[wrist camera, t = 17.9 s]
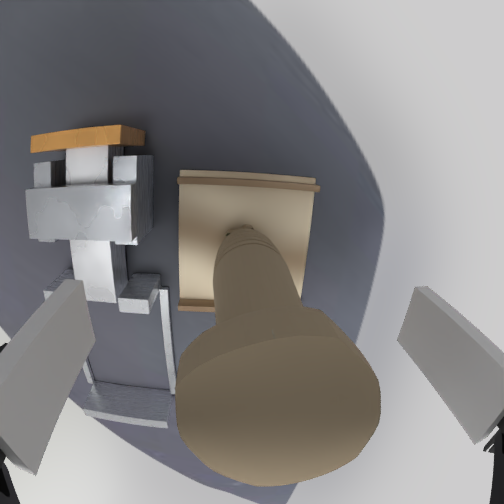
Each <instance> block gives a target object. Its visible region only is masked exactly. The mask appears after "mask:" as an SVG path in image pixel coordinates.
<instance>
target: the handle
mask: <svg viewBox="0 0 504 504" xmlns="http://www.w3.org/2000/svg"><path fill="white" fill-rule="evenodd" d="M213 293H214V305H215V317H216V325H215V326H213V327H212V328H210V329H208V330H206V331H204V332H203V333H202V334H201V335H199V336H198V337H197V338H196V339H195V340H194V341H193V342H191V344H190V345H189V346H188V347H187V348H186V350H185V351H184V352H183V353H182V355H181V358H180V361H179V367H178V372H177V378H176V385H175V401H176V418H177V427H178V430H179V433H180V436H181V438H182V440H183V441H184V443H185V444H186V445H187V447H188V448H189V449H190V450H191V451H192V452H193V453H194V454H195V455H196V456H197V457H198V458H199V459H200V460H201V461H202V462H203V463H204V464H205V465H206V466H208V467H209V468H210V469H212V470H213V471H215V472H217V473H219V474H221V475H223V476H225V477H228V478H231V479H234V480H237V481H240V482H243V483H247V484H250V485H254V486H281V485H287V484H293V483H298V482H302V481H306V480H310V479H313V478H316V477H318V476H322V475H324V474H327V473H329V472H332V471H334V470H336V469H338V468H340V467H342V466H343V465H345V464H347V463H349V462H350V461H352V460H353V459H355V458H356V457H357V456H358V455H359V453H360V452H361V451H362V450H363V448H364V447H365V445H366V444H367V443H368V441H369V440H370V438H371V437H372V435H373V434H374V432H375V430H376V428H377V426H378V424H379V420H380V414H381V404H380V403H381V400H380V399H381V396H380V387H379V382H378V379H377V377H376V375H375V373H374V371H373V370H372V368H371V366H370V365H369V363H368V361H367V360H366V358H365V357H364V356H363V354H362V353H361V352H360V350H359V349H358V348H357V347H356V345H355V344H354V343H353V342H352V341H351V340H350V339H349V337H348V336H347V335H346V334H345V333H344V332H343V331H342V330H341V329H340V328H339V327H338V326H337V325H336V324H335V323H334V322H333V321H332V320H331V319H330V318H329V317H328V316H327V315H326V314H324V313H323V312H322V311H321V310H319V309H314V308H308V307H303V304H302V302H301V299H300V297H299V294H298V291H297V289H296V286H295V284H294V281H293V278H292V276H291V273H290V271H289V268H288V266H287V264H286V262H285V260H284V259H283V257H282V255H281V254H280V252H279V250H278V249H277V248H276V246H275V245H274V244H273V243H272V242H271V240H270V239H269V238H268V237H266V236H265V235H264V234H262V233H260V232H259V231H256V230H254V228H253V226H252V225H248V224H244V225H243V226H242V227H241V228H238V229H235V230H231V229H229V230H228V231H227V232H226V233H225V235H224V240H223V242H222V243H221V245H220V247H219V249H218V252H217V255H216V259H215V264H214V272H213Z"/></svg>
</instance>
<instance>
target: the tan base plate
mask: <svg viewBox="0 0 504 504" xmlns="http://www.w3.org/2000/svg"><path fill="white" fill-rule="evenodd" d="M315 181H316V178H310V177H300V176H289V175H277V174H264V173H249V172H231V171H207V170H180V176H179V177H177V184H180V186H179V283H180V301H179V304H178V311H197V312H215V305H214V293H213V272H214V264H215V259H216V255H217V252H218V249H219V247H220V245H221V243H222V242H223V240H224V235H225V233H226V232H227V231H228V230H229V229H231V230H235V229H238V228H241V227H242V226H243V225H244V224H248V225H252V226H253V228H254V230H256V231H259V232H260V233H262V234H264V235H265V236H266V237H268V238H269V239H270V240H271V242H272V243H273V244H274V245H275V246H276V248H277V249H278V250H279V252H280V254H281V255H282V257H283V259H284V260H285V262H286V264H287V266H288V268H289V271H290V273H291V276H292V278H293V281H294V284H295V286H296V289H297V291H298V294H299V297H300V298H301V292H302V285H303V278H304V272H305V265H306V257H307V250H308V242H309V234H310V226H311V218H312V209H313V201H314V192H320V186H319V185H316V184H315Z"/></svg>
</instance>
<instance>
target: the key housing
mask: <svg viewBox="0 0 504 504" xmlns="http://www.w3.org/2000/svg"><path fill="white" fill-rule="evenodd" d="M153 166H154V155H133V156H114V157H113V183H111V184H82V185H66V160H58V161H49V162H41V163H34V188H30V189H27V190H26V207H27V218H28V228H29V236H30V239H39V242H56V241H58V240H59V239H63V240H97V241H115V244H126V245H138V244H139V243H140V241H141V240H142V239H143V238H144V237H145V236H146V235H147V234H148V233H149V231H150V230H151V229H152V228H153Z"/></svg>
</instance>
